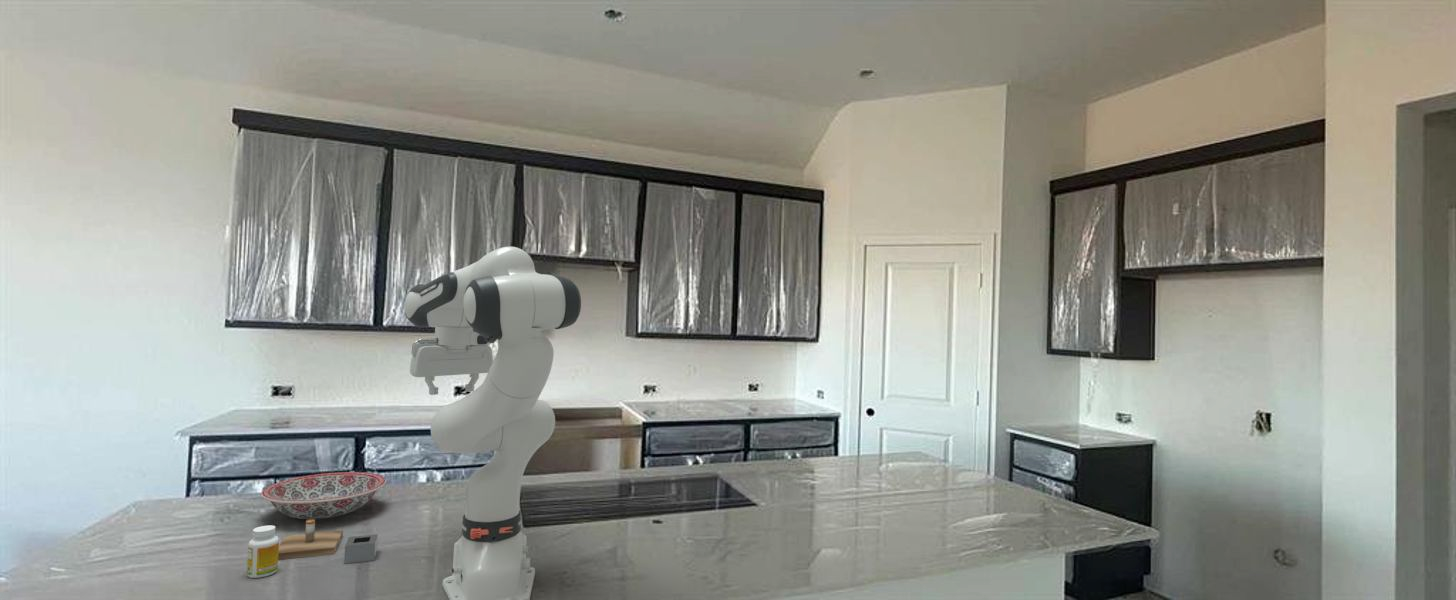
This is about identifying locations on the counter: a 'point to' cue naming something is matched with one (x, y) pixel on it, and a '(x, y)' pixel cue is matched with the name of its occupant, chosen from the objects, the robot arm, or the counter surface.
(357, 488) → the ceramic bowl
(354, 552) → the grey square block
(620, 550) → the counter surface
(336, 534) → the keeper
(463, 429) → the robot arm
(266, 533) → the supplement bottle
